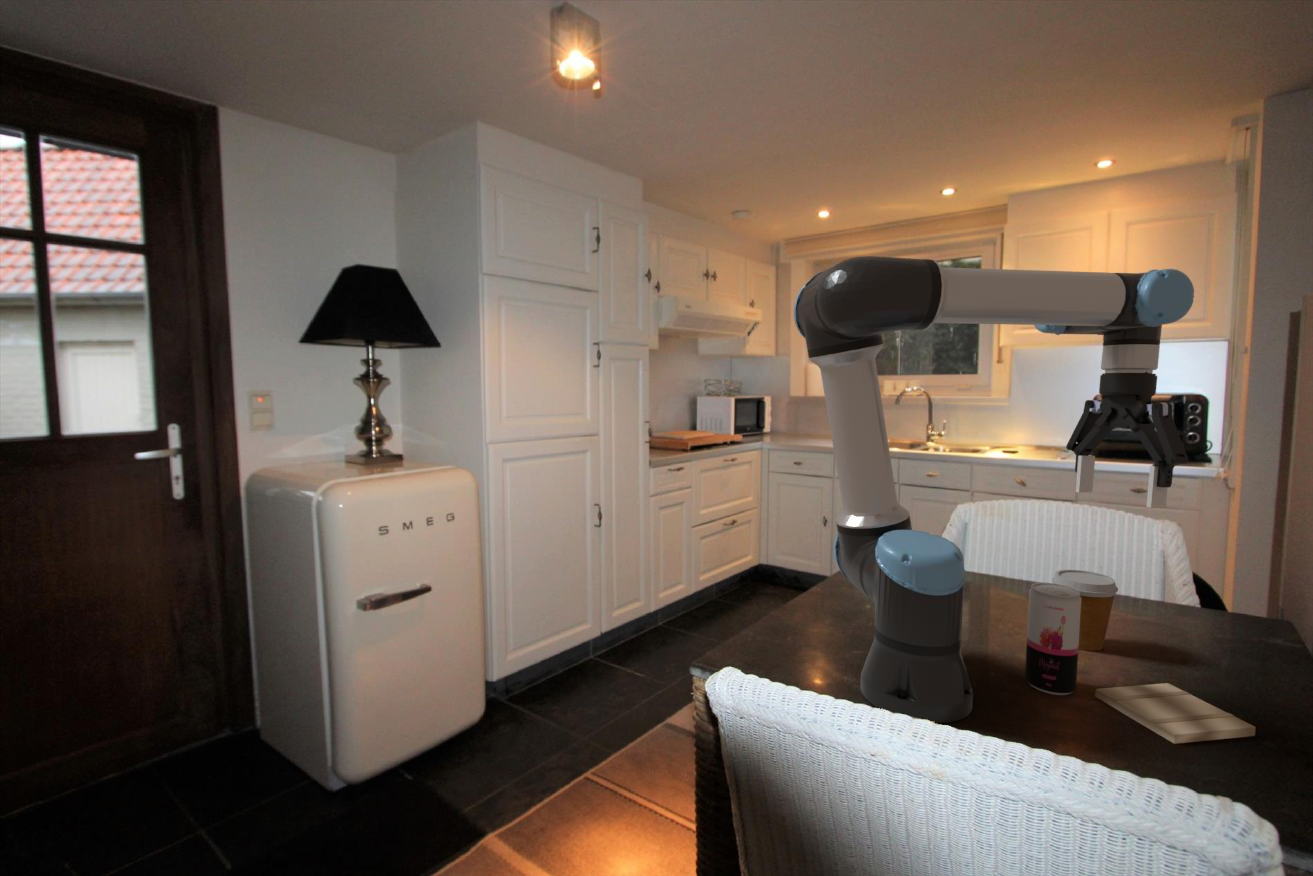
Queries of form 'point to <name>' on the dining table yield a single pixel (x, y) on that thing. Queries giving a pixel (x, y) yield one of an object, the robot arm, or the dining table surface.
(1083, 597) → the disposable coffee cup
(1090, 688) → the dining table surface
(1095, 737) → the dining table surface
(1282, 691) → the dining table surface
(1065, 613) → the beverage can
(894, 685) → the robot arm
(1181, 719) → the trivet
